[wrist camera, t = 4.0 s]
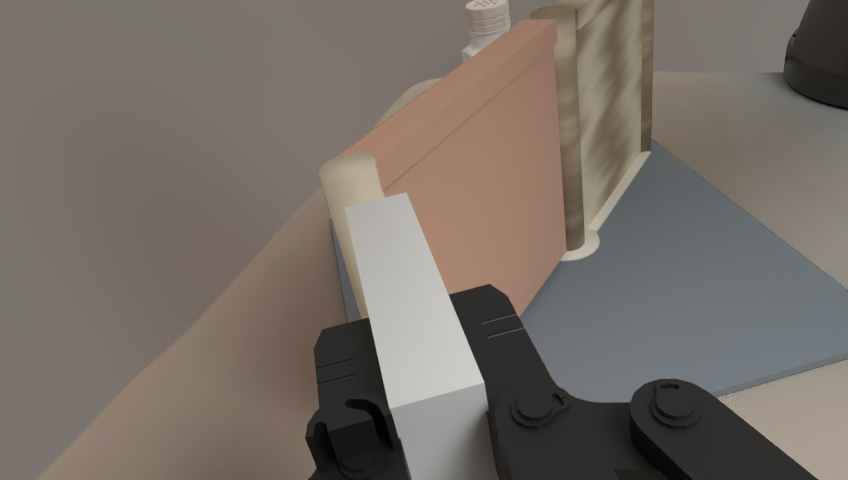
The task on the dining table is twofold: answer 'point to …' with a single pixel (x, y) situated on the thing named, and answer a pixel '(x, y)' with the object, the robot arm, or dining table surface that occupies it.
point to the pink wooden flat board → (471, 169)
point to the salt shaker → (485, 24)
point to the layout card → (676, 294)
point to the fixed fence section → (600, 99)
